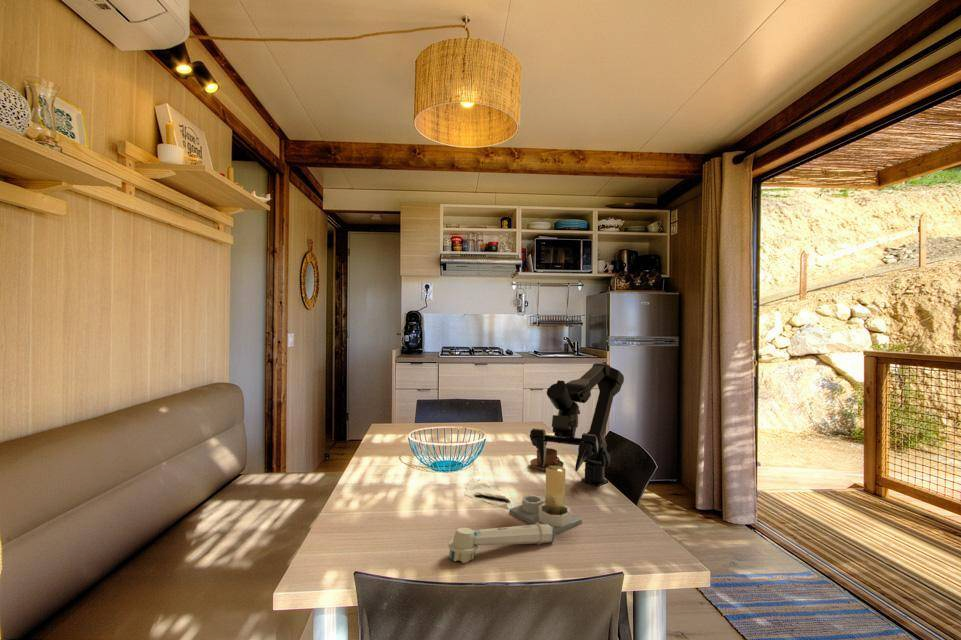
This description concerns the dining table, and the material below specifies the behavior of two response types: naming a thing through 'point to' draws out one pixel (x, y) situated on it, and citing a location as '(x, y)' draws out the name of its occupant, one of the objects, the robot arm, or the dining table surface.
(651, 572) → the dining table surface
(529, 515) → the board
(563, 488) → the brass tumbler cup
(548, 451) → the cup and saucer
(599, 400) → the robot arm
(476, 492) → the cloth
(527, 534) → the cream long-handled tool
